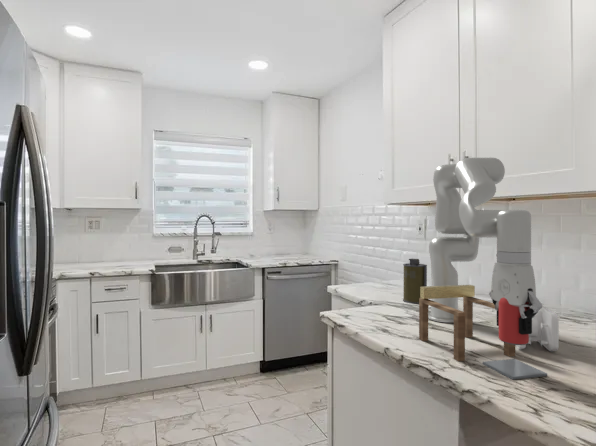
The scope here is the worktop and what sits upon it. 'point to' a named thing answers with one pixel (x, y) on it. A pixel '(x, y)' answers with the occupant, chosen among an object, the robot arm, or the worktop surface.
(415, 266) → the canister
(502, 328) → the beer can
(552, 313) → the cable organizer
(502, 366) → the coaster
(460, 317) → the frame
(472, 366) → the worktop surface
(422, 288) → the bar
